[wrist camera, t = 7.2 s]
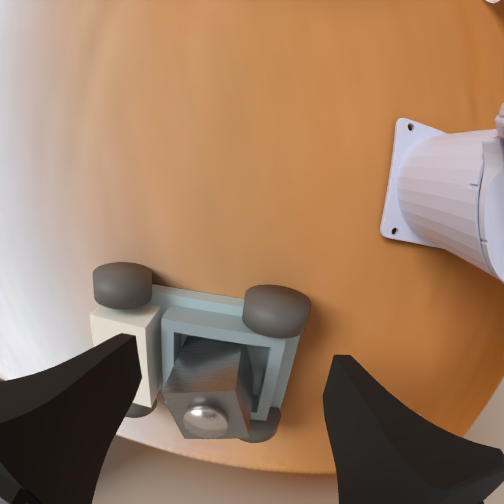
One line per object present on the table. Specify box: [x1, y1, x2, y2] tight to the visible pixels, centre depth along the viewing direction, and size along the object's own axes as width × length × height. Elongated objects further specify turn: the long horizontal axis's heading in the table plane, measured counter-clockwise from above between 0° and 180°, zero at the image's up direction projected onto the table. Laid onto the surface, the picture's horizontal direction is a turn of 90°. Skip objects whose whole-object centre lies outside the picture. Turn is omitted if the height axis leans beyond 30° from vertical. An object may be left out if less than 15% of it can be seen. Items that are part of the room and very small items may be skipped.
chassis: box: [89, 262, 311, 443], centre depth 19 cm, size 14×12×4 cm
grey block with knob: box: [162, 336, 254, 439], centre depth 17 cm, size 4×4×7 cm
